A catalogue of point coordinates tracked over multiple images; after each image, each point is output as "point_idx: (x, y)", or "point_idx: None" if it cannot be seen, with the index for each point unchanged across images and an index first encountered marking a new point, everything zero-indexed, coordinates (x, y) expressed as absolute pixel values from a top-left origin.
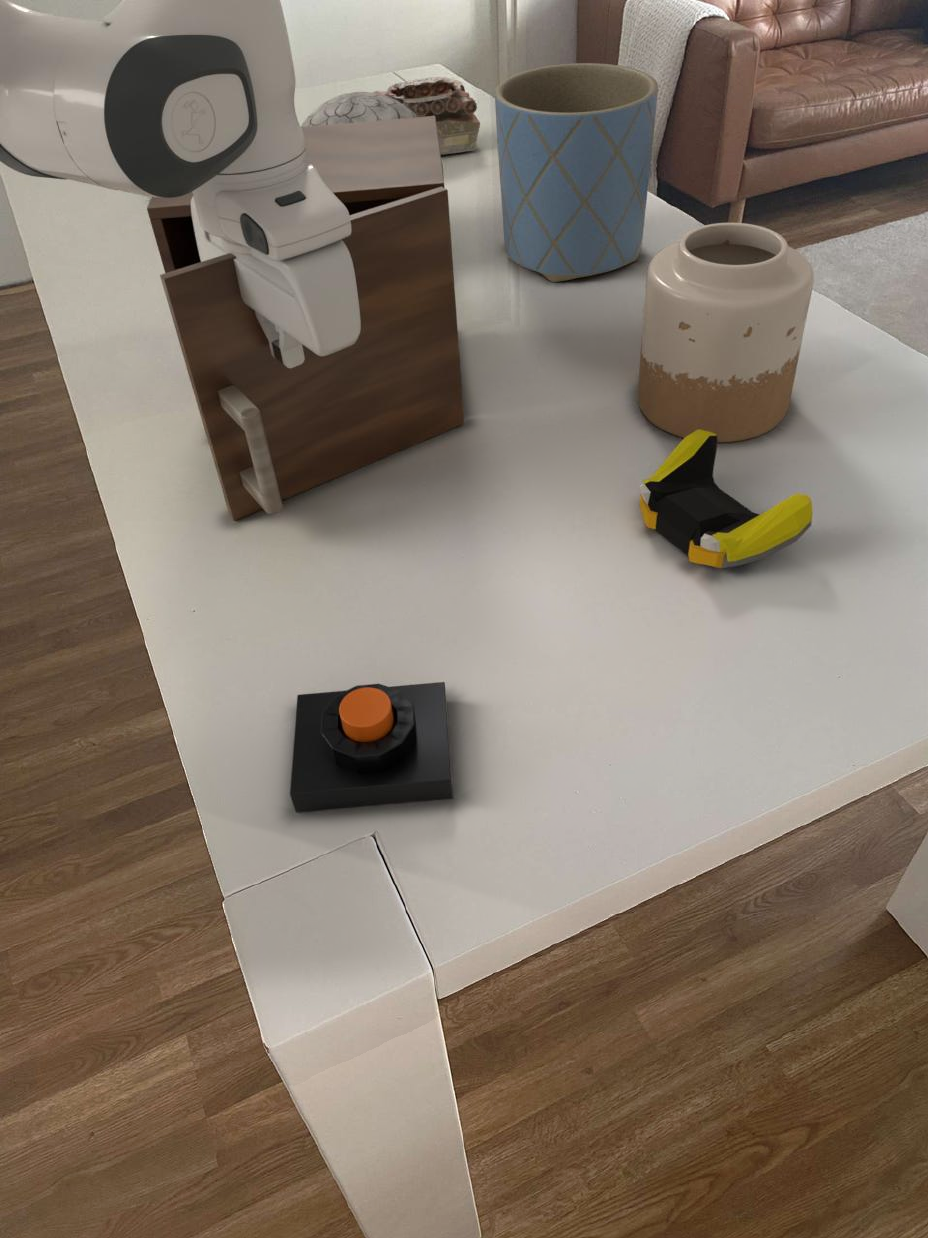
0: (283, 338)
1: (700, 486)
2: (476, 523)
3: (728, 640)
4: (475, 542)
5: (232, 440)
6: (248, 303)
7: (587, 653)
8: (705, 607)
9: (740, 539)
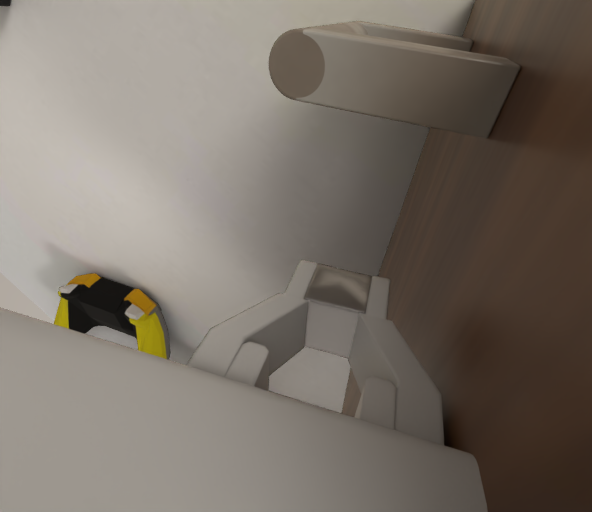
0: (225, 323)
1: (134, 333)
2: (223, 225)
3: (29, 226)
4: (199, 203)
5: (483, 52)
6: (401, 457)
7: (39, 155)
8: (60, 243)
9: (63, 299)
